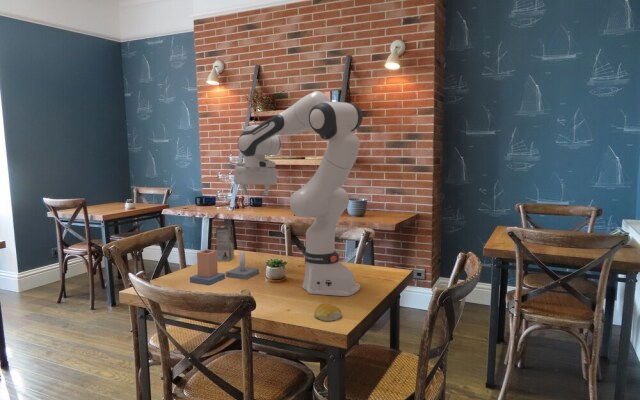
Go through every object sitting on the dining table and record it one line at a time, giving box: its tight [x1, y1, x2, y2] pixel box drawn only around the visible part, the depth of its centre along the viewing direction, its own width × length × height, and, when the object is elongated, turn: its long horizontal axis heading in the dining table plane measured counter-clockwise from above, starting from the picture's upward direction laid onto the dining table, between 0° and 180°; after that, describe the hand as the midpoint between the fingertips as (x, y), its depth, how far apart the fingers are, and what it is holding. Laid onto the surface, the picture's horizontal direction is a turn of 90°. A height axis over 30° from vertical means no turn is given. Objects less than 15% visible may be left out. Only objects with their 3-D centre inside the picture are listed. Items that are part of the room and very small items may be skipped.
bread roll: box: [313, 302, 343, 322], centre depth 144 cm, size 8×9×4 cm
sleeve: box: [196, 249, 219, 278], centre depth 182 cm, size 6×6×10 cm
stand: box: [225, 250, 260, 280], centre depth 190 cm, size 10×10×10 cm
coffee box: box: [215, 224, 235, 262], centre depth 216 cm, size 9×6×16 cm
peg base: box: [189, 272, 226, 286], centre depth 183 cm, size 10×10×9 cm
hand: (255, 195), depth 193 cm, fingers open, 8 cm apart
